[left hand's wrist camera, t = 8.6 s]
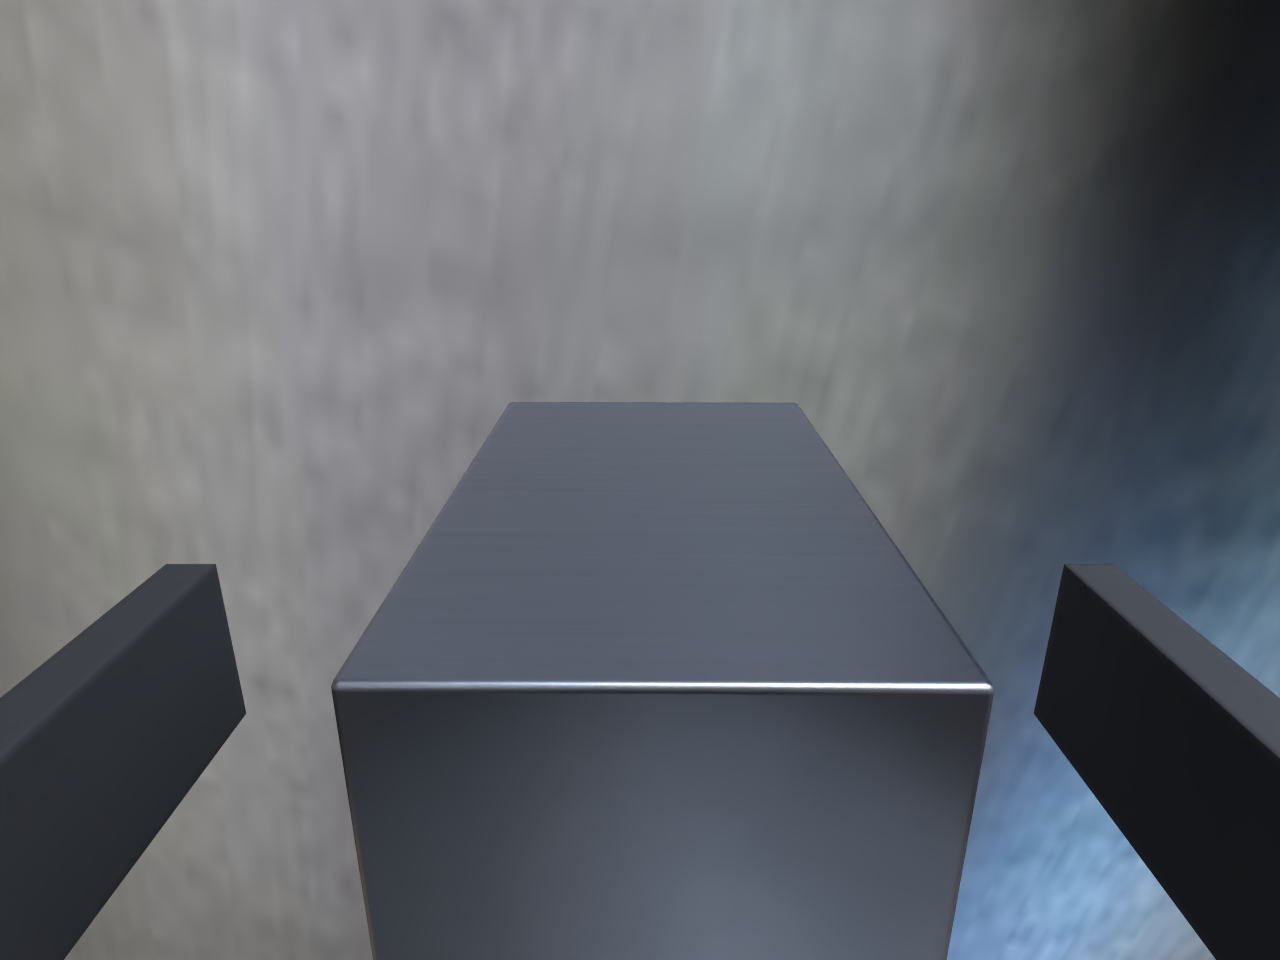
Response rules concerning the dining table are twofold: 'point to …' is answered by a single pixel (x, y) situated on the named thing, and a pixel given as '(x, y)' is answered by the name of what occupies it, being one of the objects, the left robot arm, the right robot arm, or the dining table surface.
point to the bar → (659, 705)
